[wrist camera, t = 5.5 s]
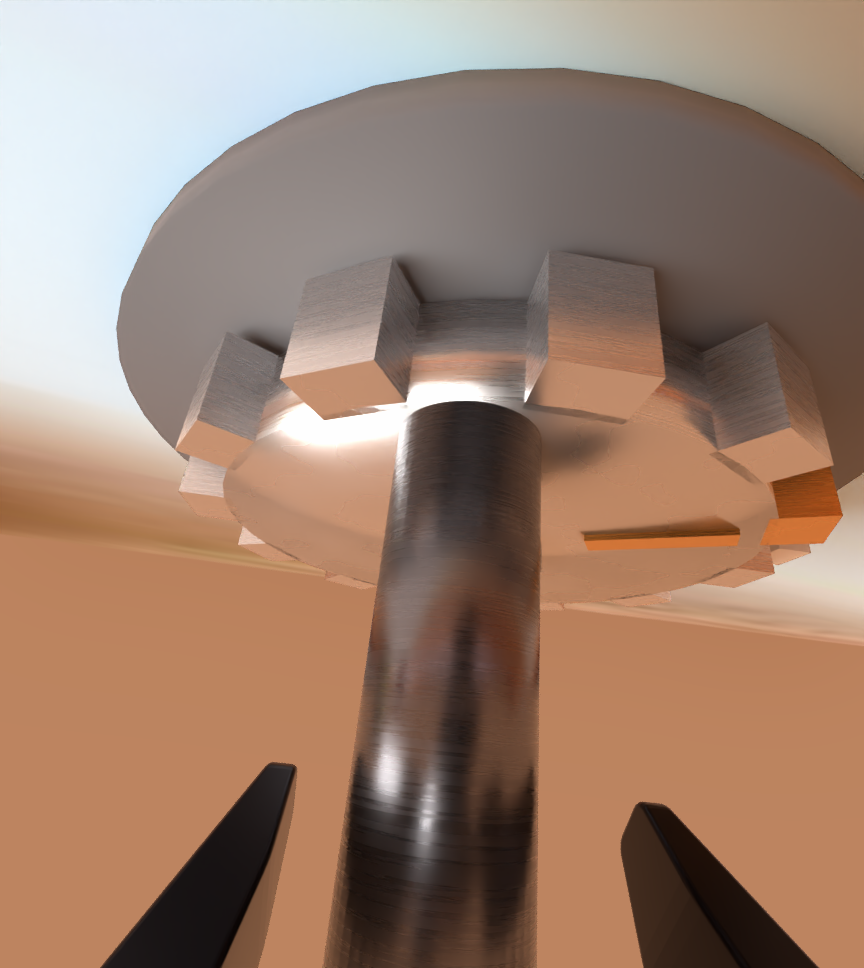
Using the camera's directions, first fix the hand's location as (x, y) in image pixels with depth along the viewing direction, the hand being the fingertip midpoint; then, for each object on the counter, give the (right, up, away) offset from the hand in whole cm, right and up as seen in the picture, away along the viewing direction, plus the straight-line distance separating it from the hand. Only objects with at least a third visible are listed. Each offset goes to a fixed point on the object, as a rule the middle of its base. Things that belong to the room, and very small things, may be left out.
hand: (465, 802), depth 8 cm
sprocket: (+1, +5, +7) cm, 8 cm away
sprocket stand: (+1, +6, +7) cm, 9 cm away
